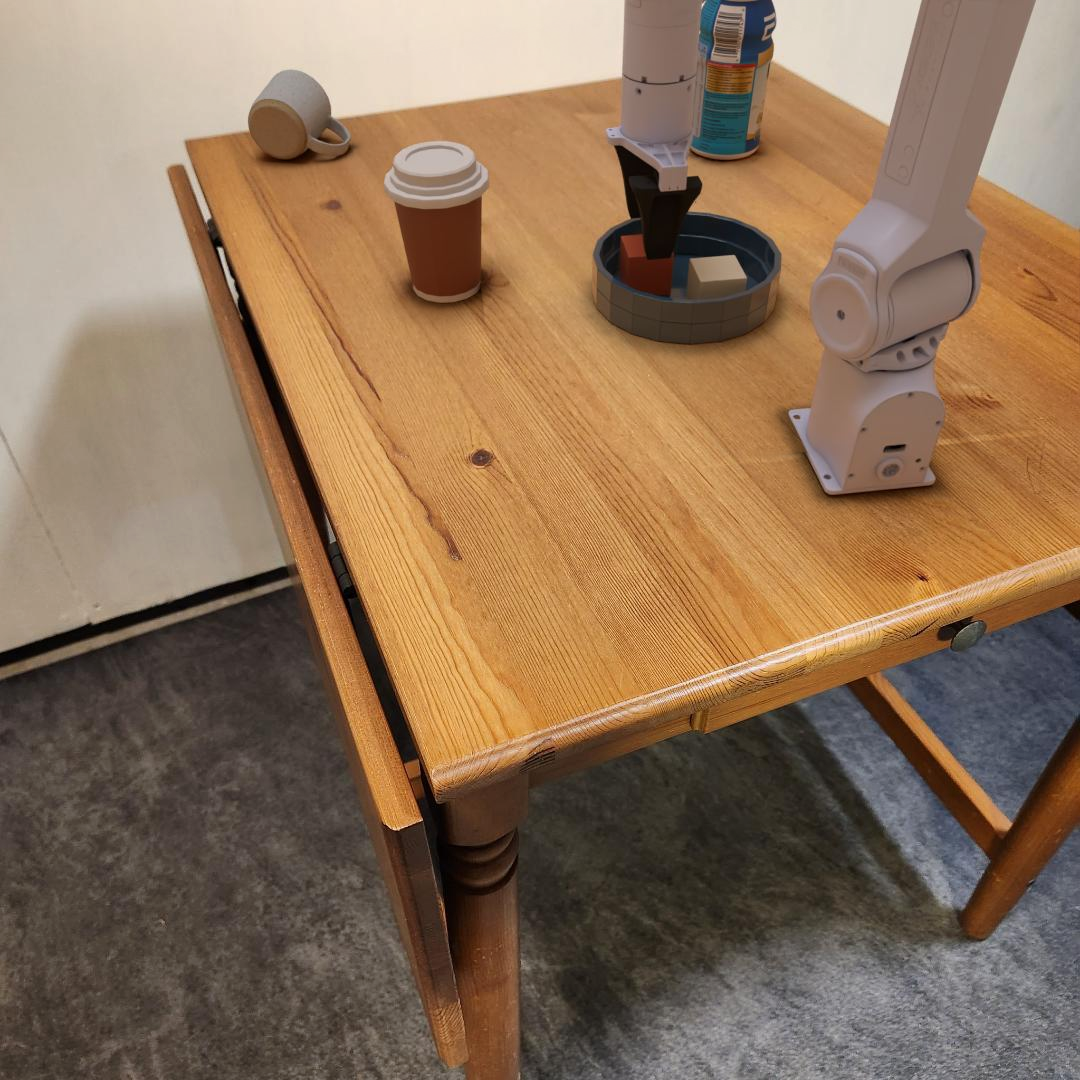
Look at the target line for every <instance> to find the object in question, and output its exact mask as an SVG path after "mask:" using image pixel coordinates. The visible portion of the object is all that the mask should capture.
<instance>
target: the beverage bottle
mask: <svg viewBox="0 0 1080 1080" xmlns="http://www.w3.org/2000/svg"><path fill="white" fill-rule="evenodd" d="M776 27H777V12H776V8H775V5H774V2H773V0H706V1H705V2H704V3H703V4H702V8H701V21H700V32H699V44H698V56H697V68H696V79H695V92H694V104H693V115H692V127H693V130H694V132H693V141H692V144H691V148H690V150H691V151H692V152H694V153H695V154H697V155H699V156H701V157H703V158H707V159H712V160H719V161H729V160H738V159H743V158H746V157H749V156H751V155H752V154H754V153H755V152H756V151H757V150H758V148H759V146H760V143H761V128H762V122H763V115H764V109H765V102H766V95H767V88H768V82H769V75H770V67H771V63H772V61H773V58H774V52H775V44H774V39H773V36H772V35H773V32H774V30H776Z"/></svg>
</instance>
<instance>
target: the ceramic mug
mask: <svg viewBox="0 0 1080 1080" xmlns="http://www.w3.org/2000/svg"><path fill="white" fill-rule="evenodd" d="M247 125H248V131H249V134H250V136H251V138H252V140H253V141H254V143H255V144H256V145H257V146H258V148H260V150H262V152H264V153H265V154H266V155H268V156H271V157H273V158H276V159H278V160H291V159H294V158H297V157H299V156H301V155H303V153H305V152H306V151H307V150H308V149H309V150H310V151H312V152H314V153H316V154H319V155H323V156H326V157H338V156H342V155H344V154H345V153H347V151H348V150H349V146H350V144H351V140H352V139H351V138H352V136H351V133H350V131H349V130H348V128H347V127H346V126H345V124H343V123H342V122H341V121H339V120H338V119H337V118H335V117H333V115H332V104H331V102H330V98H329V96H328V94H327V92H326V91H325V89H324V87H323V86H322V84H321V83H319V82H318V81H317V80H316V79H315V78H314V77H313V76H311V75H309V74H307V73H306V72H303V71H302V70H298V69H283V70H281V71H279V72H277V73H276V74H275V75H274V76H273V77H272V78H271V79H270V80H269V81H268V82H267V84H266V86H265V87H264V88H263V90H261V92H260V93H259V95H258V96H257V97H256V98H255V100H254V101H253V103H251V107H250V109H249V112H248V116H247ZM327 129H328V130H330V131H332V132H333V133H335V134H336V135H337V136H338V137H339V138H340V139H341V140H342V141H343V142H341V143H336V144H333V143H329V142H325V141H322V140H319V139H318V138H319V137H320V136H321V135H322V134H323V133H324V132H325V131H326V130H327Z"/></svg>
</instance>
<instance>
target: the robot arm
mask: <svg viewBox="0 0 1080 1080" xmlns="http://www.w3.org/2000/svg"><path fill="white" fill-rule="evenodd" d="M705 1H706V0H624V5H623V6H624V7H623V33H622V34H623V35H622V66H621V67H622V69H621V98H620V99H621V100H620V122H619V126H616V127H607V128H606V129H605V140H606V143H607V144H608V145H610V146H613V148H614V150H615V153H616V155H617V158H618V162H619V165H620V170H621V175H622V176H621V177H622V181H623V189H624V196H625V203H626V208H627V212H628V216H629V219H633V218H641V225H642V237H643V245H644V251H645V254H646V257H647V259H648V260H654V259H666V258H671V256H672V253H673V251H674V248H675V245H676V242H677V239H678V235H679V232H680V229H681V226H682V224H683V221H684V219H685V217H686V214H687V213H688V212H690V208H691V207H692V205H694V203H695V201H697V199H698V197H699V196H700V195H701V193H702V190H703V181H702V180H701V178H700V176H699V175H689V176H688V171H689V170H688V169H689V165H688V163H687V160H688V157H689V154H690V150H691V149H690V148H691V144H692V141H693V132H694V130H693V127H692V115H693V104H694V92H695V79H696V68H697V56H698V44H699V34H700V21H701V9H702V7H703V5H704V3H705ZM1036 2H1037V0H921V2H920V5H919V10H918V13H917V16H916V21H915V24H914V28H913V33H912V37H911V39H910V45H909V48H908V52H907V56H906V61H905V64H904V68H903V72H902V76H901V80H900V84H899V88H898V91H897V96H896V100H895V103H894V107H893V112H892V115H891V119H890V123H889V126H888V131H887V135H886V138H885V142H884V146H883V150H882V153H881V154H882V155H881V158H880V162H879V166H878V169H877V170H878V171H877V175H876V178H875V182H874V186H873V189H872V193H871V198H870V199H869V200H868V202H867V203H866V204H865V205H864V207H863V208H862V209H861V210H860V211H859V212H858V213H857V214H856V216H855V217H853V219H852V220H851V221H850V222H849V223H848V224H847V225H846V226H845V228H843V229H842V231H841V232H840V233H839V234H838V236H836V238H835V240H834V242H833V245H832V250H831V254H830V257H829V259H828V262H827V264H826V265H825V267H824V268H823V269H822V271H820V273H819V274H818V275H817V276H816V277H815V280H814V281H813V283H812V286H811V289H810V294H809V314H810V320H811V323H812V326H813V329H814V331H815V333H816V335H817V337H818V339H819V343H820V344H821V345H822V346H823V350H822V355H821V359H820V363H819V369H818V374H817V379H816V382H815V387H814V390H813V391H814V392H813V396H812V401H811V405H810V407H807V408H796V409H794V408H793V409H790V410H789V411H788V412H787V414H788V416H789V418H790V420H791V422H792V424H793V426H794V428H795V430H796V432H797V435H798V436H799V439H800V440H801V443H802V444H803V446H804V449H805V450H806V451H804V453H805V455H806V456H807V459H808V461H809V463H810V465H811V467H812V469H813V471H814V473H815V475H816V477H817V479H818V481H819V483H820V485H821V486H822V489H823V491H824V492H825V493H826V494H827V495H830V496H834V495H835V496H836V495H844V494H854V493H855V494H856V493H863V492H875V491H884V490H885V491H886V490H894V489H896V490H897V489H905V488H917V487H925V486H931V485H934V484H935V482H936V479H937V478H936V476H935V474H934V472H933V471H932V469H931V468H930V464H931V460H932V458H933V454H934V451H935V450H936V446H937V443H938V440H939V438H940V435H941V432H942V430H943V426H944V423H945V420H946V407H945V404H944V401H943V398H942V397H941V394H940V393H939V390H938V388H937V384H936V380H935V362H936V358H937V357H936V356H937V353H938V349H939V346H940V343H941V341H943V340H945V339H946V335H947V332H948V329H949V326H950V323H952V322H955V321H957V320H959V319H961V318H963V317H964V316H966V315H967V314H968V313H969V312H970V311H971V310H972V308H973V307H974V306H975V304H976V302H977V300H978V298H979V295H980V291H981V287H982V274H981V273H982V272H981V254H982V248H983V245H984V241H985V239H986V235H987V232H988V231H987V228H986V226H984V224H983V223H982V222H981V221H980V219H979V218H978V217H977V216H976V215H975V214H974V213H973V212H972V211H971V210H970V209H969V208H968V205H969V203H970V199H971V196H972V194H973V190H974V187H975V185H976V182H977V178H978V175H979V172H980V169H981V166H982V163H983V160H984V158H985V154H986V151H987V149H988V147H989V142H990V140H991V136H992V134H993V130H994V128H995V124H996V121H997V119H998V116H999V112H1000V109H1001V107H1002V103H1003V101H1004V98H1005V95H1006V91H1007V88H1008V86H1009V83H1010V80H1011V77H1012V73H1013V70H1014V67H1015V65H1016V62H1017V59H1018V55H1019V51H1020V50H1021V47H1022V44H1023V40H1024V38H1025V34H1026V31H1027V29H1028V26H1029V23H1030V20H1031V16H1032V13H1033V11H1034V8H1035V4H1036ZM796 416H797V417H799V418H795V417H796Z"/></svg>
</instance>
